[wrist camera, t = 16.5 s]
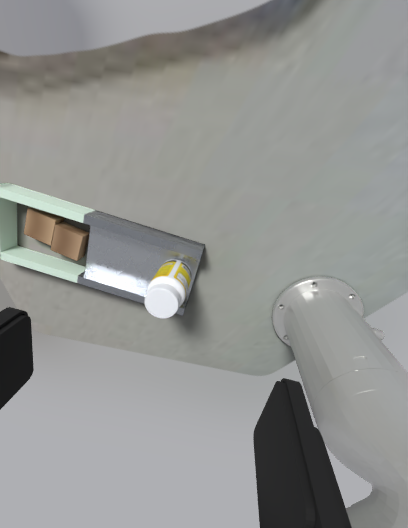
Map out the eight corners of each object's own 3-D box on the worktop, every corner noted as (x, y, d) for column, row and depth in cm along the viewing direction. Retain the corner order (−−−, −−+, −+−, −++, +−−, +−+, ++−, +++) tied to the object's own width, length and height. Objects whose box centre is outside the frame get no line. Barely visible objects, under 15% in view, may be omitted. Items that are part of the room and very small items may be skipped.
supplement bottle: (156, 281, 37) (136, 313, 30) (164, 253, 35) (145, 279, 28) (186, 292, 37) (175, 326, 30) (196, 265, 36) (186, 293, 28)
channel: (204, 244, 35) (202, 251, 33) (186, 304, 39) (182, 315, 37) (95, 210, 35) (84, 214, 32) (88, 274, 39) (77, 282, 36)
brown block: (91, 232, 37) (82, 236, 35) (85, 255, 38) (76, 261, 36) (65, 221, 37) (55, 224, 35) (60, 245, 38) (50, 249, 36)
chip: (65, 217, 36) (55, 220, 34) (60, 241, 38) (50, 245, 36) (39, 205, 36) (27, 207, 34) (35, 229, 38) (23, 233, 36)
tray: (95, 210, 35) (84, 214, 32) (88, 274, 39) (77, 282, 36) (8, 182, 35) (-11, 184, 32) (9, 250, 39) (-8, 256, 36)
